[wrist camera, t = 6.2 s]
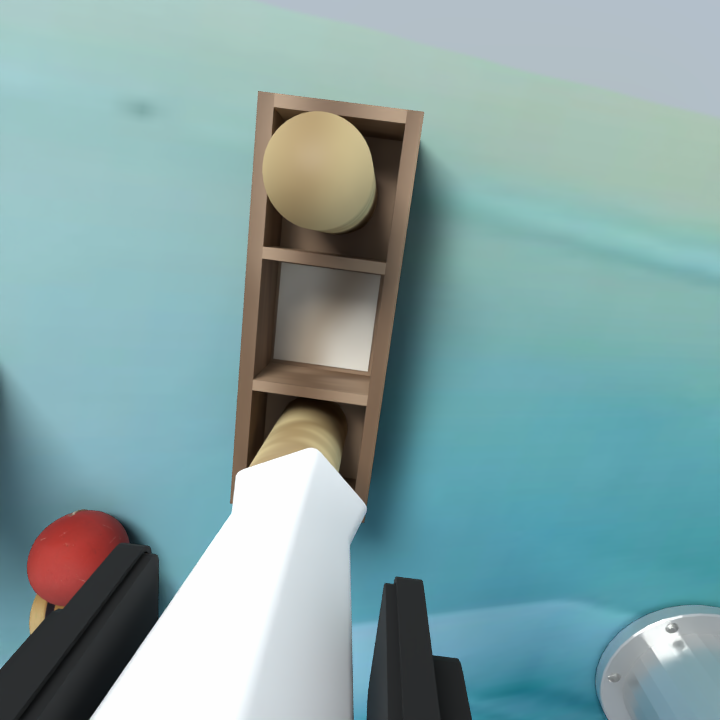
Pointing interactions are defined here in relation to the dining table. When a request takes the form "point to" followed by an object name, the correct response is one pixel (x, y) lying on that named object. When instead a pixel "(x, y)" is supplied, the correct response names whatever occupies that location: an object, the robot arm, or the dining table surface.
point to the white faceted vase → (258, 609)
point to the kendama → (69, 558)
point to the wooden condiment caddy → (322, 279)
